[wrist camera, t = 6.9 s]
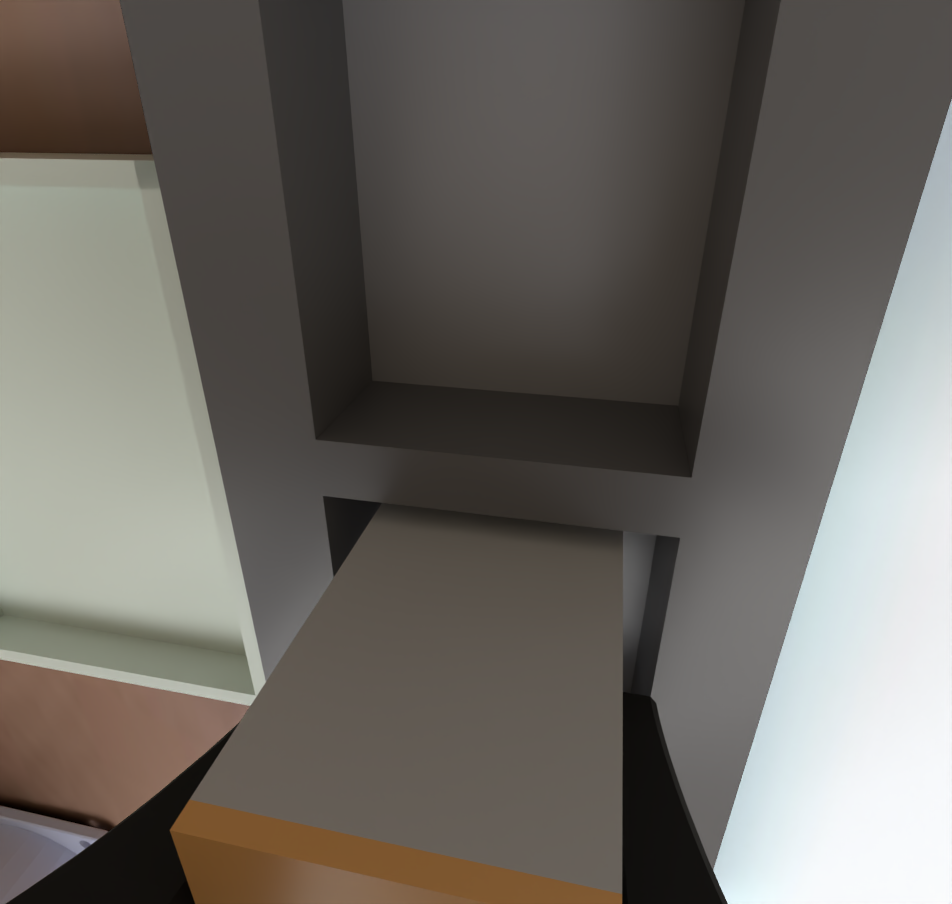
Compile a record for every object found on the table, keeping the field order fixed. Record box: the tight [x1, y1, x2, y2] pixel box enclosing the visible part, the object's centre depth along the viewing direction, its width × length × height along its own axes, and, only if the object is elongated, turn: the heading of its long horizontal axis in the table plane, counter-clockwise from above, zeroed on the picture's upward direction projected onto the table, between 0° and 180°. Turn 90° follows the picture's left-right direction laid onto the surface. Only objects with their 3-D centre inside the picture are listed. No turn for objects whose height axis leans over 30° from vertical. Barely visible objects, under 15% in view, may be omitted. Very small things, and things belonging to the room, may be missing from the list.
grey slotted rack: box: [120, 0, 952, 869], centre depth 12 cm, size 9×24×3 cm, turn 0°
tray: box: [0, 152, 266, 706], centre depth 14 cm, size 9×12×2 cm
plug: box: [170, 503, 623, 904], centre depth 10 cm, size 4×5×7 cm
